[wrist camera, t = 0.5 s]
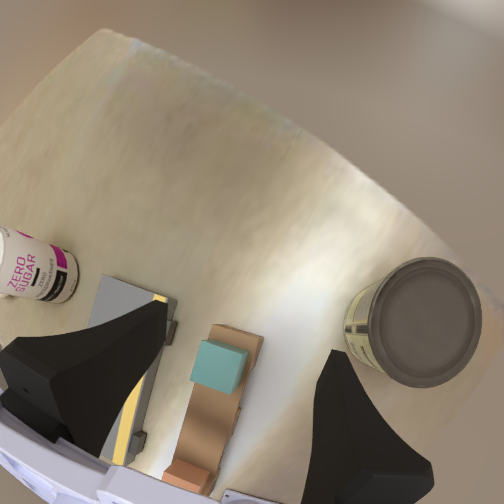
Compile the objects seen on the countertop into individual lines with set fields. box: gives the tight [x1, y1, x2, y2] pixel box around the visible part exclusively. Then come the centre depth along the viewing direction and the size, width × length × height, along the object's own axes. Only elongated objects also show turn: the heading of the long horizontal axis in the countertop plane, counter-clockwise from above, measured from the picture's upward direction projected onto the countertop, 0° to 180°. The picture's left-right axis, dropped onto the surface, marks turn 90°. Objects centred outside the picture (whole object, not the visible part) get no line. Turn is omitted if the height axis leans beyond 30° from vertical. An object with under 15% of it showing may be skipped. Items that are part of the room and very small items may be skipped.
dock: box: [87, 274, 177, 466], centre depth 36 cm, size 24×11×3 cm, turn 163°
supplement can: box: [0, 226, 78, 303], centre depth 35 cm, size 8×8×15 cm
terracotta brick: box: [162, 459, 210, 495], centre depth 27 cm, size 4×4×4 cm
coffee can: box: [344, 257, 482, 388], centre depth 28 cm, size 10×10×14 cm
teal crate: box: [190, 339, 249, 394], centre depth 30 cm, size 4×4×4 cm
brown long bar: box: [171, 324, 264, 497], centre depth 33 cm, size 22×5×5 cm, turn 163°
